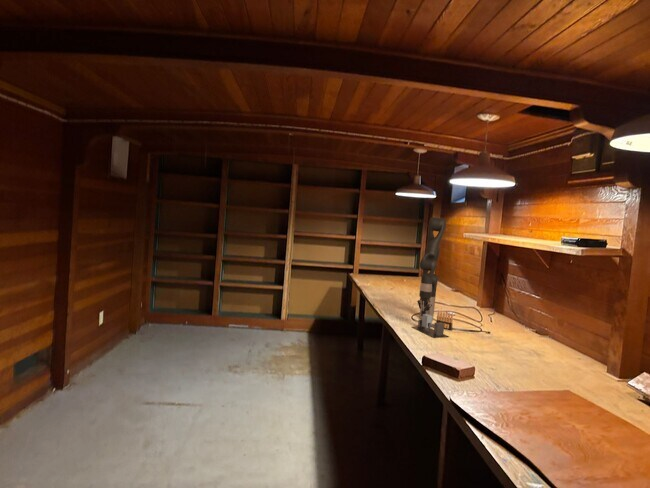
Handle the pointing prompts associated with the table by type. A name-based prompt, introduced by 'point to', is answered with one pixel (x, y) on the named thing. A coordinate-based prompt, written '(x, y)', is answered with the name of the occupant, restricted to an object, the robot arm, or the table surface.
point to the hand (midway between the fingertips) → (423, 316)
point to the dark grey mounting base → (430, 332)
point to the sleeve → (426, 320)
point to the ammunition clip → (445, 320)
